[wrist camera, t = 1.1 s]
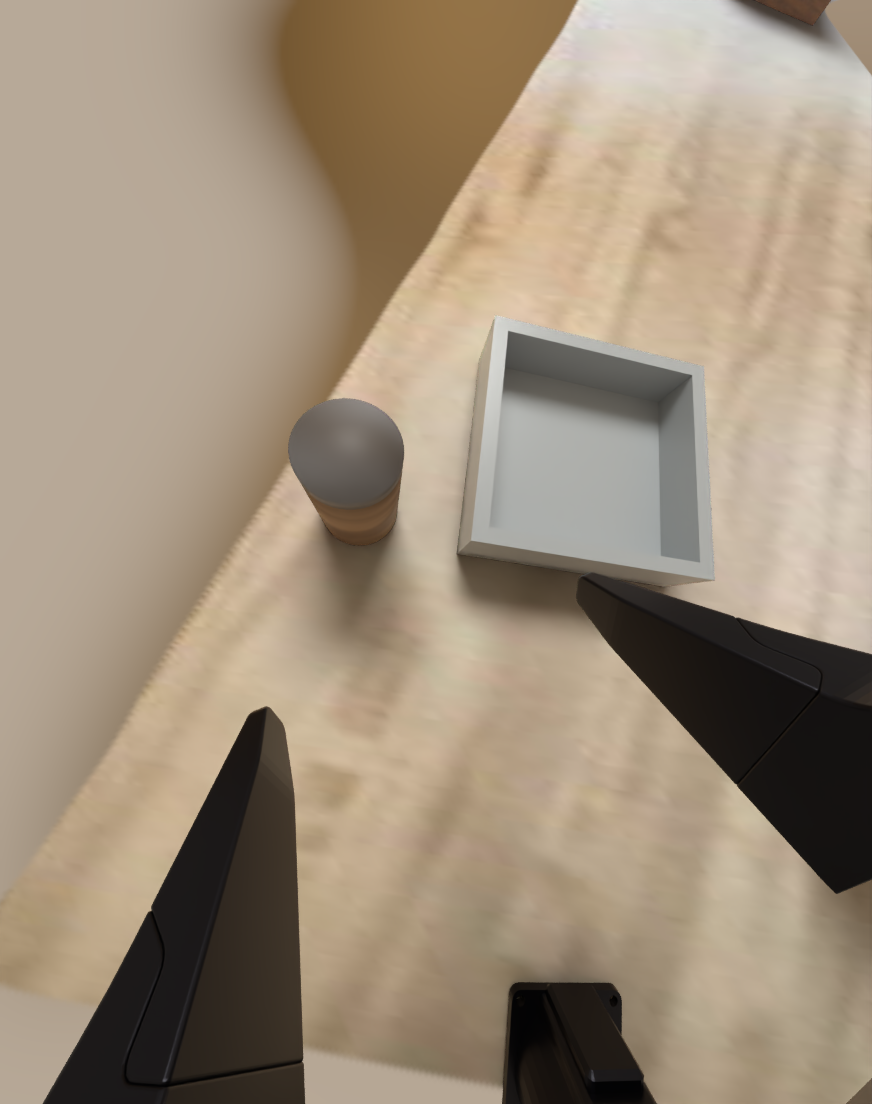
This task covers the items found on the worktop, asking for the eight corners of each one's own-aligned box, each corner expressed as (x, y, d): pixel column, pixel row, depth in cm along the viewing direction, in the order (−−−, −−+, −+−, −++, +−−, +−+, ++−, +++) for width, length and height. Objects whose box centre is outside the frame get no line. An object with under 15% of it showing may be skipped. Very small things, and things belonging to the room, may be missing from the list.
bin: (665, 586, 26) (714, 580, 22) (456, 553, 24) (470, 540, 20) (661, 400, 29) (703, 366, 25) (479, 358, 27) (495, 315, 24)
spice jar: (390, 550, 23) (395, 511, 15) (315, 539, 23) (276, 491, 14) (401, 482, 24) (411, 410, 16) (330, 469, 24) (301, 388, 16)
